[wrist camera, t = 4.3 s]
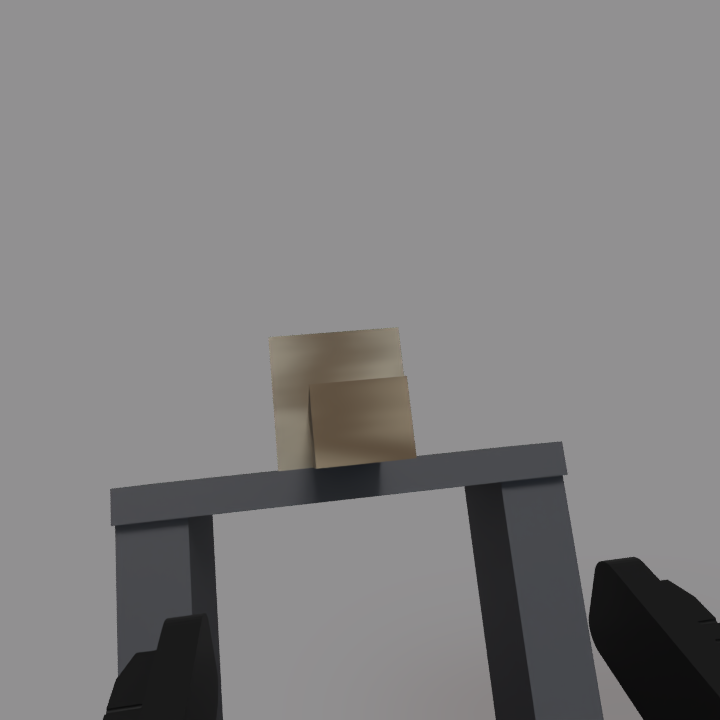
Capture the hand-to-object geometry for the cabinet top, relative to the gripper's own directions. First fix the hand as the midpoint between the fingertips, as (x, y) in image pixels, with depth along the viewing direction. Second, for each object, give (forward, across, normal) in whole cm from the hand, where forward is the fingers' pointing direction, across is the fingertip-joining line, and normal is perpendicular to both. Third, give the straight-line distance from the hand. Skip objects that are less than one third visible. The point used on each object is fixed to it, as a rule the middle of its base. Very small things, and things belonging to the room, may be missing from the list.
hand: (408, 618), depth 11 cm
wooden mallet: (+12, 0, +3) cm, 12 cm away
